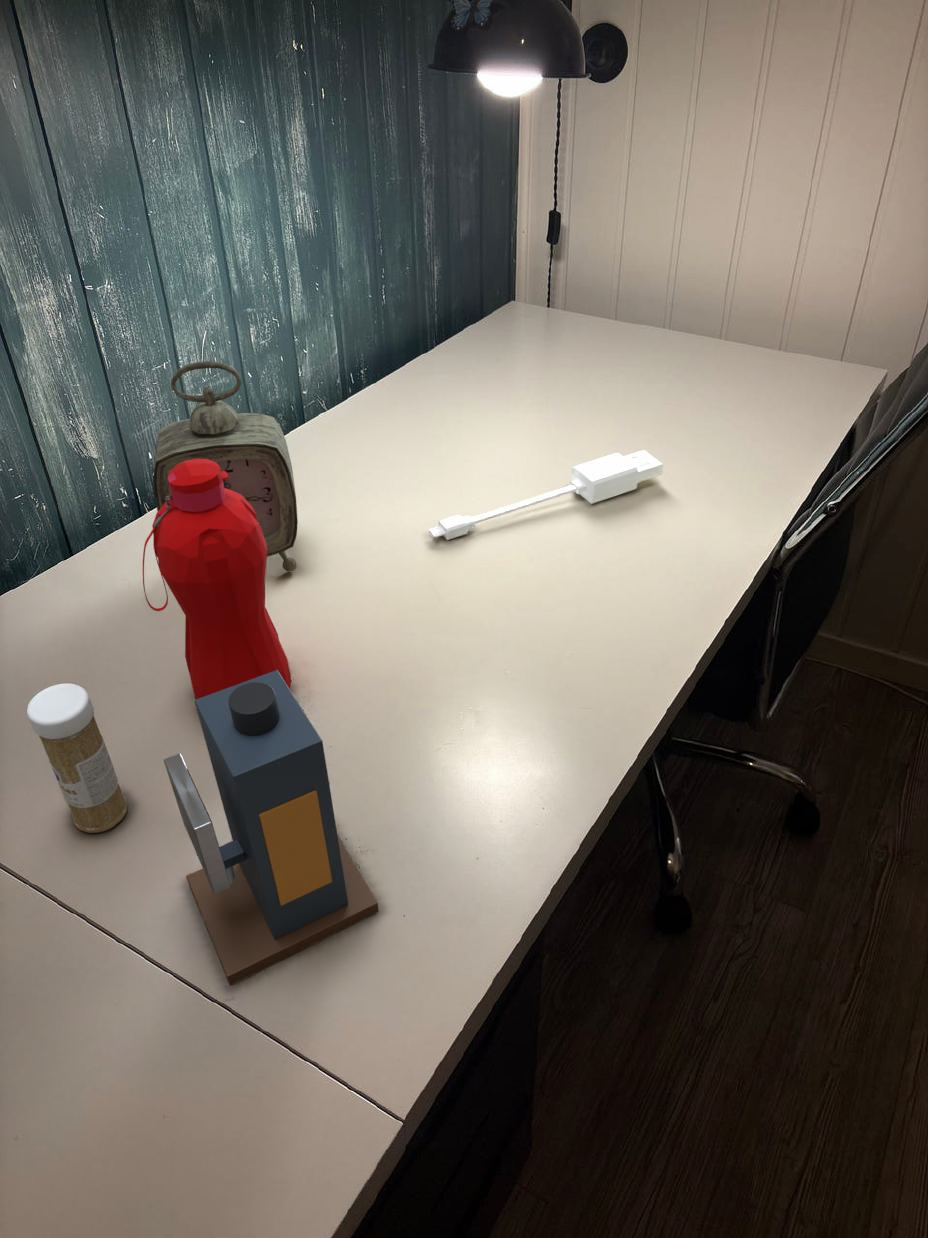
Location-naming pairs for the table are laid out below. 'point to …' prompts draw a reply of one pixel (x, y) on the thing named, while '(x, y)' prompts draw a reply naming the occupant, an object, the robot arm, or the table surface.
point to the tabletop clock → (234, 458)
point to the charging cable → (572, 488)
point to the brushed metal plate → (197, 823)
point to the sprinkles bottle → (78, 756)
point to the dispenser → (273, 832)
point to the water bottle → (216, 579)
